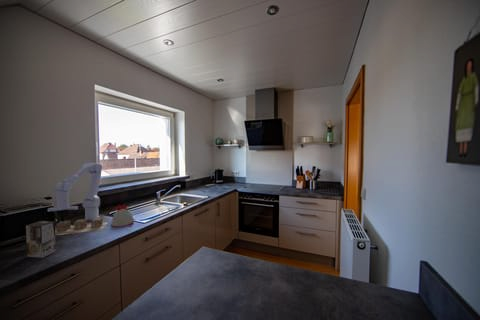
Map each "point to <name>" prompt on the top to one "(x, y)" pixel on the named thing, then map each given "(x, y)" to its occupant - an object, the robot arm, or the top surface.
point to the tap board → (81, 229)
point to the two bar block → (96, 222)
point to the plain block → (63, 226)
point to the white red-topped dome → (122, 217)
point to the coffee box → (40, 239)
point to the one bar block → (80, 224)
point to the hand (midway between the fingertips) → (63, 221)
